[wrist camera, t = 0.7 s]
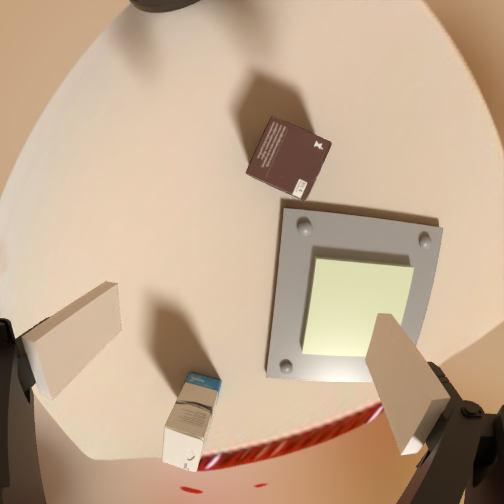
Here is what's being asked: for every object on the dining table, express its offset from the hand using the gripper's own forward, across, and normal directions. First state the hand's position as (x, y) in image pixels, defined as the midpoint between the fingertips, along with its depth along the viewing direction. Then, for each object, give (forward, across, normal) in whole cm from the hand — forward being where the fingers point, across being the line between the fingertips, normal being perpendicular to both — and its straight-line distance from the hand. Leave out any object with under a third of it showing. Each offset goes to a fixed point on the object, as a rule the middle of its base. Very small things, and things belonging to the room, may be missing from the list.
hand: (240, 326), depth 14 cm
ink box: (+21, -7, -24) cm, 33 cm away
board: (+21, +12, -7) cm, 25 cm away
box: (+21, +2, +9) cm, 23 cm away
